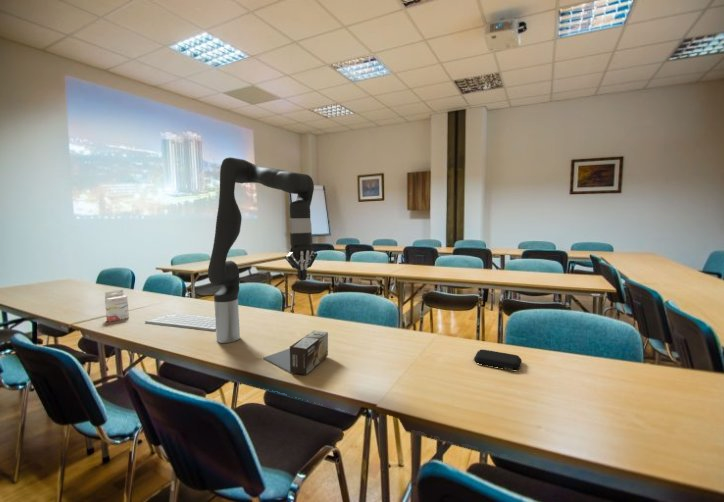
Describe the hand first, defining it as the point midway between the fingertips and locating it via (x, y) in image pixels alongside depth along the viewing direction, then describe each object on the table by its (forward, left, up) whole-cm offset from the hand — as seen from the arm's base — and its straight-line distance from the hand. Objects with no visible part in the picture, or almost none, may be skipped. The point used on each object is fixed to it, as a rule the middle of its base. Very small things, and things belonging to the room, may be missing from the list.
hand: (302, 280), depth 121 cm
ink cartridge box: (-112, -35, -29) cm, 121 cm away
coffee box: (+3, +5, -24) cm, 25 cm away
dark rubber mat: (-2, -4, -29) cm, 29 cm away
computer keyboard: (-78, -11, -30) cm, 84 cm away
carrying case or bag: (+54, +42, -30) cm, 74 cm away
